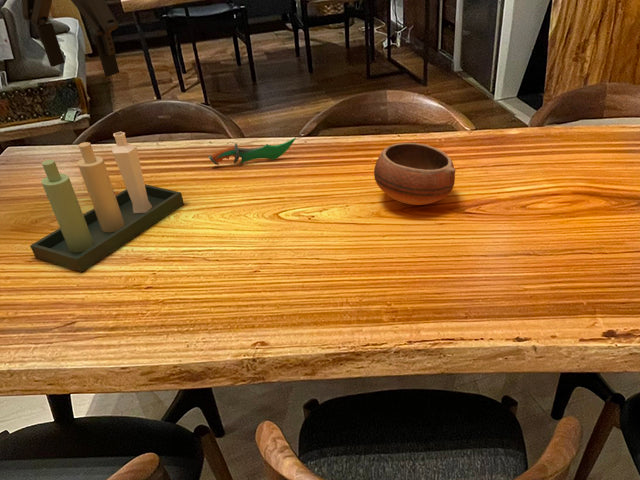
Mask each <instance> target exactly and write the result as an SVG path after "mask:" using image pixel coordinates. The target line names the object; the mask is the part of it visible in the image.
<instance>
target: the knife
mask: <svg viewBox="0 0 640 480" xmlns="http://www.w3.org/2000/svg"><path fill="white" fill-rule="evenodd" d="M296 139H297V137H293V138H292V139H291V140H289V141H285V142H283V143H280V144H275V145H271V144H268V143H266V144H265V145H263V146H259V147H254V148H253V147H252V148H246V147H238V143H237V142H235V143H234V146H231V147H227V148H222V149H219V150H217V151H216V152H213V153H212V154H211V155H209V156H208V159H209V161H211V162H212V163H213V164H214V165H216V166H217V165H218V166H219V165H220V163H219V162H221V163H222V162H223V160H224V159H226V160H229V159H230V157H231V156H232V157H234V159H233V164H236V163H237V162H238V161H239V159H240V158H241V159H240V164H243V163H246V162H249V161H253V160H259V159H260V160H261V159H266V160H272V161H274V160H277V159H279V158H280V157H282V156H283V155H284V154H285V153H286V152H287V151H288V150H289V149H290V147H291V146H292V145H293V143H294V142H295V140H296Z"/></svg>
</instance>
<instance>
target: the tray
mask: <svg viewBox="0 0 640 480" xmlns="http://www.w3.org/2000/svg"><path fill="white" fill-rule="evenodd" d="M145 188H146V193H147V197H148V201H149V202H150V204H151V206H152V208H151V209H150V210H148V211H147V212H146V213H133V204H132V201H131V199H130V196H129V194H128V191H127V188H126V189H124V190H122V191H121V192H118V193H117V194H115V196H116V199H117V202H118V205H119V208H120V211H121V214H122V217H123V220H124V223H125V226H124V227H122V228H121V229H119V230H118V231H115V232H104V231H102V230H101V227H100V224H99V222H98V219H97V216H96V213H95V211H94V208H93V207H92V208H91V209H90V210H88V211H86V212H85V213H83V216H84V218H85V221H86V224H87V226H88V229H89V231H90V234H91V237H92V239H93V242H94V246H92V247H91V248H89V249H88V250H86V251H85V252H80V253H74V252H71V251H70V250H69V248H68V246H67V243H66V241H65V239H64V236H63V234H62V231H61V229H60V227H59V228H57V229H55V230H54V231H52V232H50V233H49V234H47V235H45V236H43V237H42V238H40V239H39V240H37V241H35V242H33V243H32V244H30V245H29V247H30V250H31V251H32V254H33V255H34V258H35V259H36V260H37V259H38V260H41V261H44V262H48V263H51V264H54V265H56V266H61V267H63V268H67V269H70V270H74V271H77V272H80V273H83V272H85V271H86V270H88V269H89V268H91V267H92V266H94V265H95V264H96V263H98V262H100V261H101V260H103V259H104V258H106V257H107V256H109V255H110V254H112V253H113V252H114V251H116V250H118V249H119V248H120V247H122V246H124V245H125V244H126V243H128V242H130V241H131V240H133V239H134V238H136V237H138V235H140V234H142V233H143V232H145V231H147V230H148V229H150V228H151V227H152V226H153V225H155V224H156V223H159V222H160V221H161V220H163V219H164V218H166V217H167V216H169V215H170V214H172V213H173V212H175V211H176V210H178V209H179V208H181V207H182V206H183V205H185V203H184V198H183V194H182V192H181V191H177V190H172V189H168V188H163V187H159V186H155V185H150V184H146V183H145Z"/></svg>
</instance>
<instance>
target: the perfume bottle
mask: <svg viewBox="0 0 640 480" xmlns="http://www.w3.org/2000/svg"><path fill="white" fill-rule="evenodd" d="M112 135H113V137H114V139H115V142H116V144H115V145H113V146H112V147H111V150H112V151H111V153H112V155H113V158H114V160H115V163H116V166H117V167H118V171H119V173H120V175H121V178H122V181H123V183H124V186H125V188H126V189H127V191H128V194H129V196H130V199H131V201H132V204H133V213H146V212H147V211H148V210H150V209H151V208H152V206H151V204H150V202H149V201H148V197H147V193H146V188H145V184H146V183H145V179H144V174H143V170H142V166H141V161H140V157H139V152H138V147H137V146H136V145H134V144H131V143H128V141H127V138H126V132H123V131H117V132H114V133H113V134H112Z"/></svg>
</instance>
